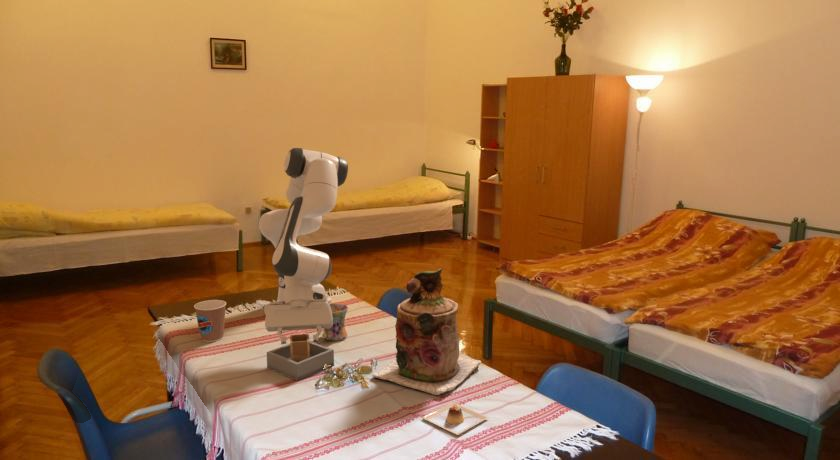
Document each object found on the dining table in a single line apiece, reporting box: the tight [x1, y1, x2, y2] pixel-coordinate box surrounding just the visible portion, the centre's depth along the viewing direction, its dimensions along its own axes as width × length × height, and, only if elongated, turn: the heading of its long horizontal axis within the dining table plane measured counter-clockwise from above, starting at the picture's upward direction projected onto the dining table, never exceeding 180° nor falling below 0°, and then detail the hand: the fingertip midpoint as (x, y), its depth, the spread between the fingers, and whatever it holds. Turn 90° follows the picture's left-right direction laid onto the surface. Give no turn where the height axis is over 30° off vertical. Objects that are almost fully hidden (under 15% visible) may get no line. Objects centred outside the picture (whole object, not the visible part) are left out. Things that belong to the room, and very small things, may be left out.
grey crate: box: [266, 340, 335, 382], centre depth 182 cm, size 14×14×5 cm
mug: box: [321, 303, 349, 342], centre depth 206 cm, size 12×9×11 cm
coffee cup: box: [193, 299, 227, 343], centre depth 204 cm, size 10×10×12 cm
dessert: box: [421, 401, 490, 436], centre depth 151 cm, size 12×12×5 cm
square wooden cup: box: [289, 333, 310, 362], centre depth 182 cm, size 6×6×8 cm
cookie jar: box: [372, 268, 482, 396], centre depth 175 cm, size 25×25×32 cm
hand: (299, 342), depth 181 cm, fingers open, 8 cm apart
